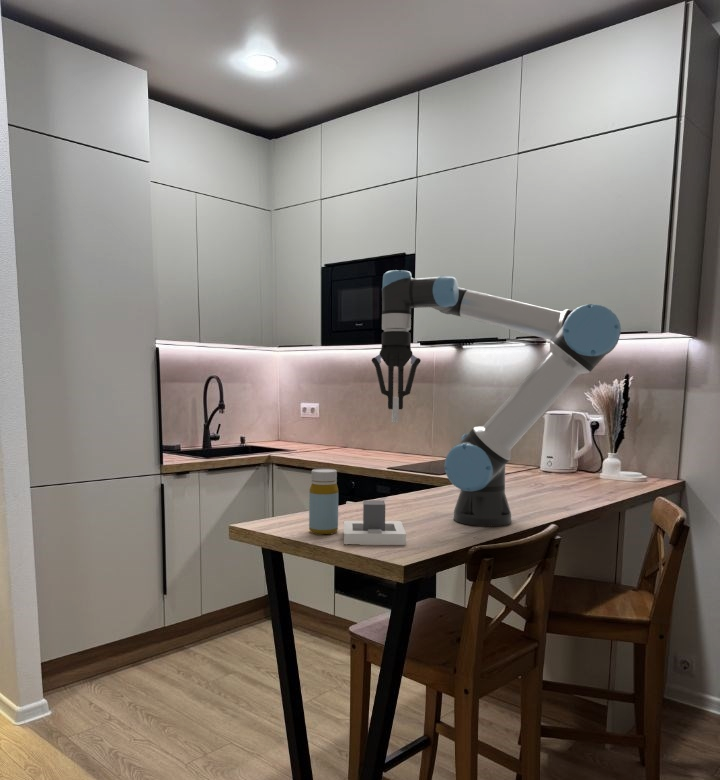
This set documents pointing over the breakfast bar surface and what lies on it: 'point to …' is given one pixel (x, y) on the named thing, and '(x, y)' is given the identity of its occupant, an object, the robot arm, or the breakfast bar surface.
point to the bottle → (323, 502)
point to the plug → (373, 515)
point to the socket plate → (374, 534)
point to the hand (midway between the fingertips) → (395, 422)
